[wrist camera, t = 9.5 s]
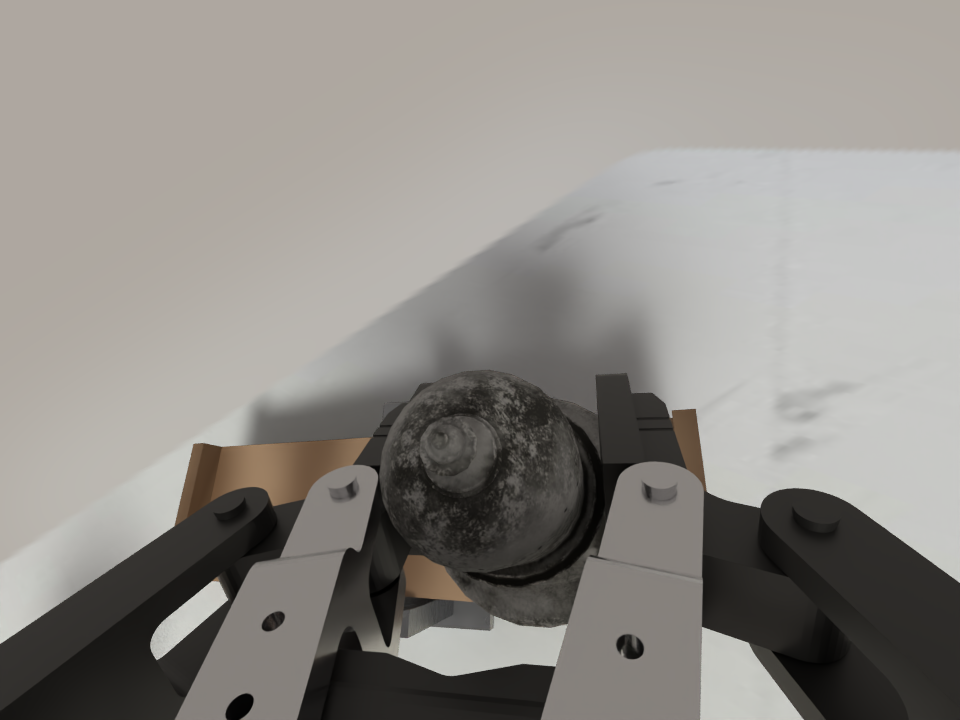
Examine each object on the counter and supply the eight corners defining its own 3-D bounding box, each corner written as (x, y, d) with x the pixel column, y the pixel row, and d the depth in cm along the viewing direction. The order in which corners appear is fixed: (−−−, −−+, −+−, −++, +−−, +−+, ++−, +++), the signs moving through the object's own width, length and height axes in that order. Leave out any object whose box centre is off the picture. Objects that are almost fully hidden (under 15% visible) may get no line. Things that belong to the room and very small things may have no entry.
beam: (208, 577, 27) (162, 580, 25) (233, 451, 29) (193, 443, 27) (721, 616, 17) (725, 627, 15) (695, 424, 20) (695, 408, 17)
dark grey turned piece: (440, 463, 17) (176, 325, 7) (590, 398, 17) (575, 137, 6) (497, 638, 15) (230, 885, 4) (674, 568, 15) (897, 637, 4)
